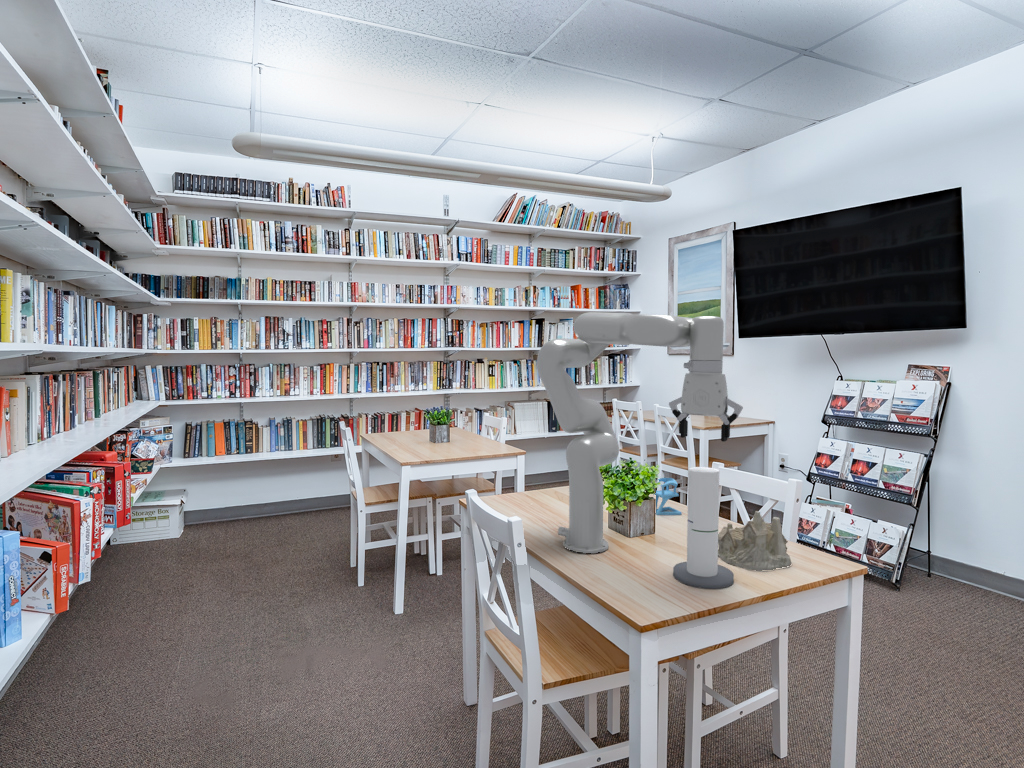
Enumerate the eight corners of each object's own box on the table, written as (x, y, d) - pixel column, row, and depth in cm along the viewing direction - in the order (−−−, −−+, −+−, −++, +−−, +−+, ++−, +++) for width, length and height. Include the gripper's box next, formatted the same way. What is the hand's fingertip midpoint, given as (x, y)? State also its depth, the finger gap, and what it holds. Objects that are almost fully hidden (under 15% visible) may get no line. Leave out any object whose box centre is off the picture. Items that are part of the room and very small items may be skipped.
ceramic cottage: (801, 567, 148) (798, 508, 148) (745, 575, 144) (742, 515, 144) (760, 551, 163) (757, 497, 163) (709, 558, 159) (706, 503, 159)
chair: (648, 511, 202) (648, 477, 201) (669, 508, 204) (669, 475, 204) (660, 517, 194) (660, 481, 194) (682, 514, 197) (682, 479, 196)
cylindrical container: (705, 564, 146) (706, 466, 145) (723, 574, 139) (725, 471, 138) (680, 567, 144) (682, 467, 143) (698, 578, 137) (700, 473, 136)
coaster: (664, 580, 140) (665, 574, 140) (683, 563, 151) (683, 557, 151) (724, 593, 132) (724, 587, 132) (739, 574, 143) (740, 568, 143)
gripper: (665, 367, 141) (663, 437, 142) (739, 369, 131) (737, 444, 132) (675, 366, 147) (673, 433, 148) (747, 368, 137) (745, 440, 138)
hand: (703, 438), depth 140 cm, fingers open, 9 cm apart
